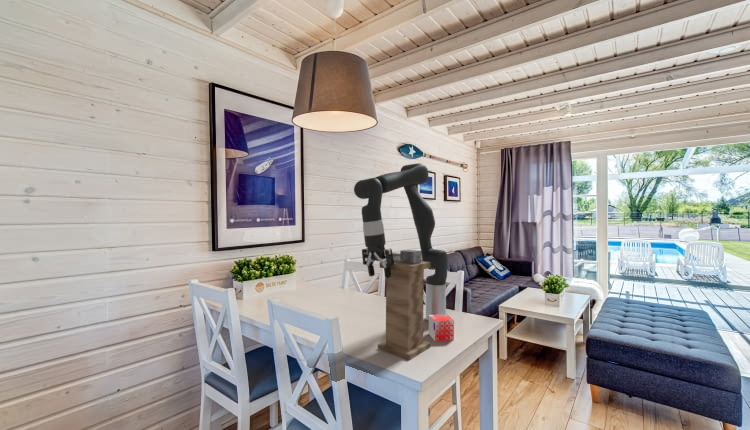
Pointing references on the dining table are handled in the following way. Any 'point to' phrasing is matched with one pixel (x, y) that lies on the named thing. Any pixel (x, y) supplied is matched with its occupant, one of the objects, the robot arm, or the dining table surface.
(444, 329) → the puzzle cube
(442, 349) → the dining table surface
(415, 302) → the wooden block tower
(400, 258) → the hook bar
